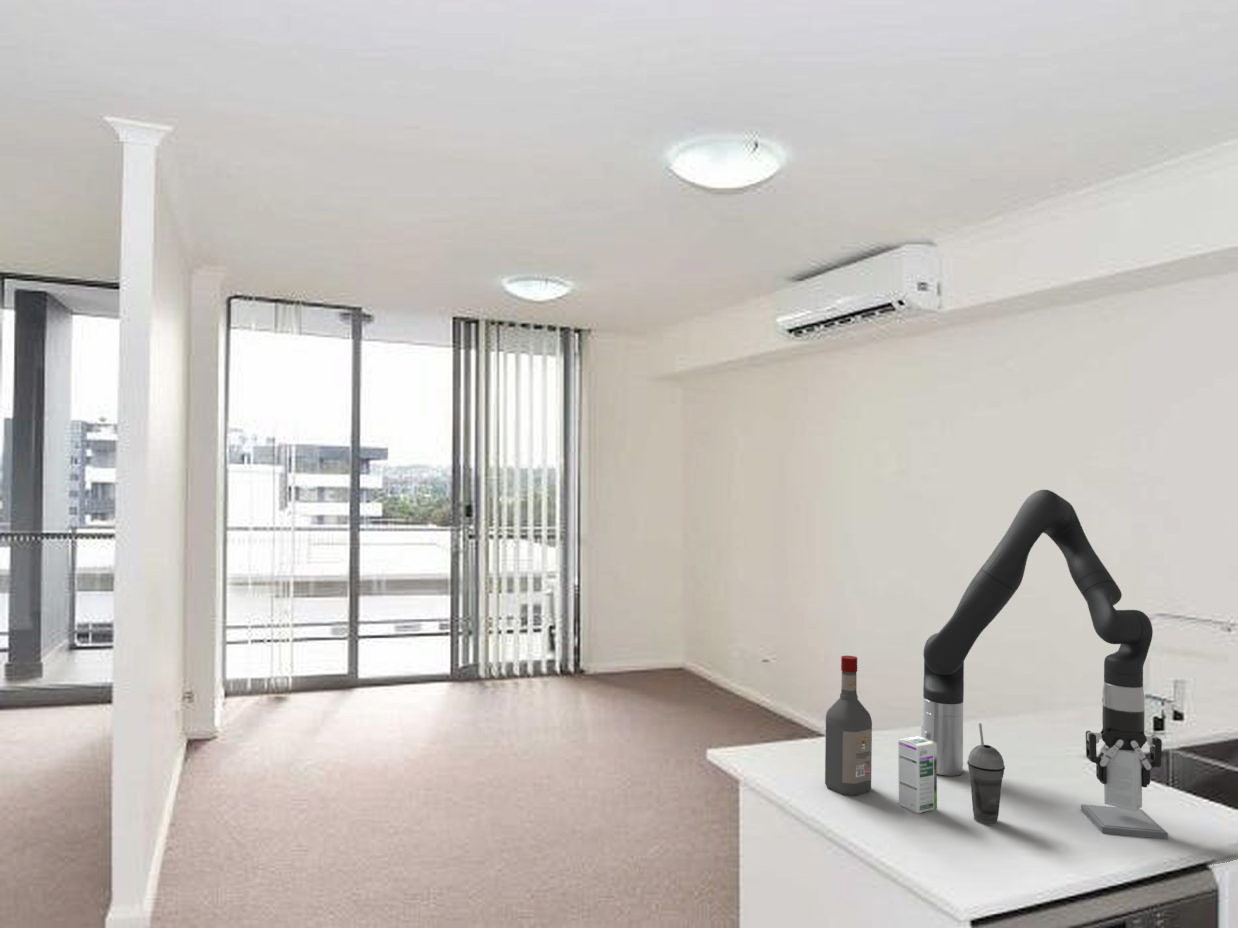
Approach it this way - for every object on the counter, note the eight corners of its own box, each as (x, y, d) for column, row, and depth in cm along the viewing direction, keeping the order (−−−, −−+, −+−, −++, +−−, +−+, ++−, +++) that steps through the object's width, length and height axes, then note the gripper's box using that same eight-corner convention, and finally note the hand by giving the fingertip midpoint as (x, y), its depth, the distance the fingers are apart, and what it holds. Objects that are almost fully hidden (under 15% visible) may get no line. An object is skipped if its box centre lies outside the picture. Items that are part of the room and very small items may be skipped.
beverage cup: (1002, 830, 166) (1003, 731, 167) (963, 821, 170) (964, 725, 170) (1006, 818, 172) (1007, 723, 173) (969, 810, 176) (970, 717, 177)
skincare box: (1142, 807, 170) (1142, 749, 170) (1136, 812, 167) (1136, 754, 167) (1110, 798, 174) (1110, 742, 175) (1103, 803, 172) (1103, 746, 172)
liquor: (877, 790, 187) (878, 659, 187) (848, 798, 182) (850, 663, 182) (846, 777, 194) (848, 651, 195) (819, 784, 190) (820, 655, 190)
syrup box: (918, 814, 174) (919, 745, 174) (897, 804, 179) (898, 737, 179) (937, 809, 176) (938, 742, 177) (916, 799, 182) (916, 734, 182)
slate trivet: (1102, 832, 166) (1102, 826, 166) (1080, 809, 178) (1080, 803, 178) (1167, 838, 164) (1167, 832, 164) (1141, 814, 175) (1141, 808, 175)
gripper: (1092, 707, 169) (1092, 788, 169) (1169, 712, 166) (1169, 794, 166) (1079, 698, 176) (1079, 775, 176) (1152, 702, 174) (1152, 780, 173)
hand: (1123, 784), depth 171 cm, fingers closed on skincare box, 7 cm apart
